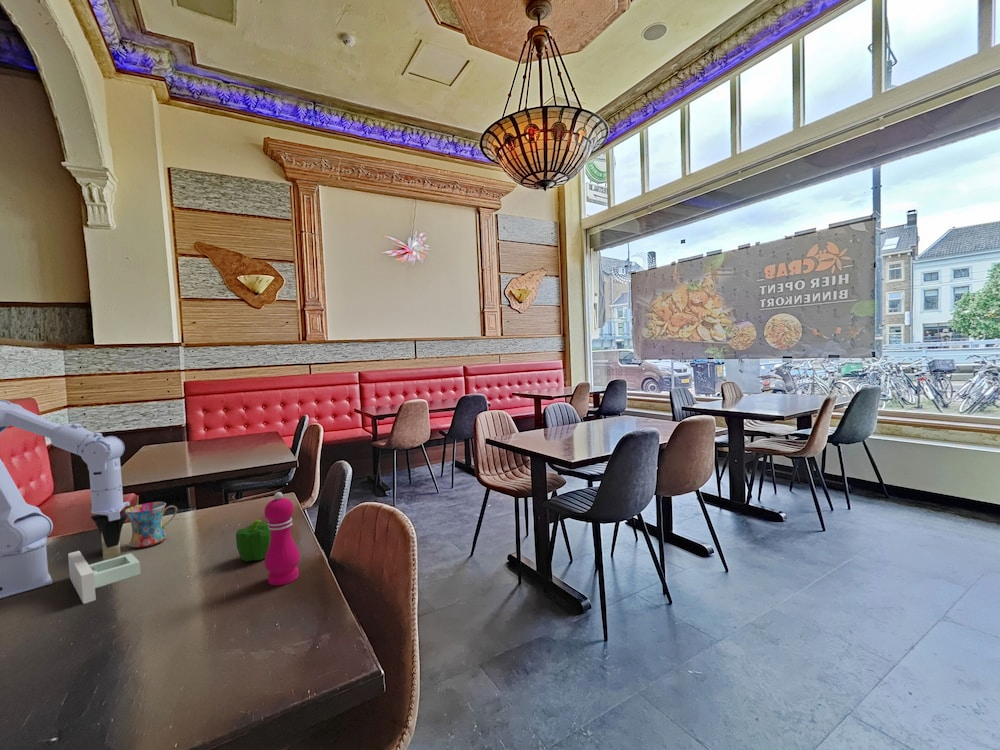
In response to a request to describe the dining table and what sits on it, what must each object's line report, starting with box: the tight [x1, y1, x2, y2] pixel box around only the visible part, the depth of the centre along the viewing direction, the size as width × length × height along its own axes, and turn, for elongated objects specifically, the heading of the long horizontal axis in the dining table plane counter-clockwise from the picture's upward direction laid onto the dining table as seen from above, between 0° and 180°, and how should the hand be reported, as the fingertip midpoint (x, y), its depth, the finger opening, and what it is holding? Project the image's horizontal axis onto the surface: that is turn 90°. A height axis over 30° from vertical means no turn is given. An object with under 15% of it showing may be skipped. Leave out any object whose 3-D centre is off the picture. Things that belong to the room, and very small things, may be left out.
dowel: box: [100, 532, 122, 561], centre depth 110 cm, size 3×3×8 cm
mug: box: [124, 501, 178, 549], centre depth 132 cm, size 12×9×11 cm
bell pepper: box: [235, 519, 271, 563], centre depth 117 cm, size 8×8×10 cm
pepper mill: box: [264, 491, 301, 586], centre depth 104 cm, size 7×7×20 cm
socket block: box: [88, 552, 142, 589], centre depth 110 cm, size 9×9×3 cm
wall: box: [67, 550, 97, 605], centre depth 104 cm, size 2×20×6 cm, turn 49°
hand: (110, 544), depth 110 cm, fingers closed on dowel, 3 cm apart
